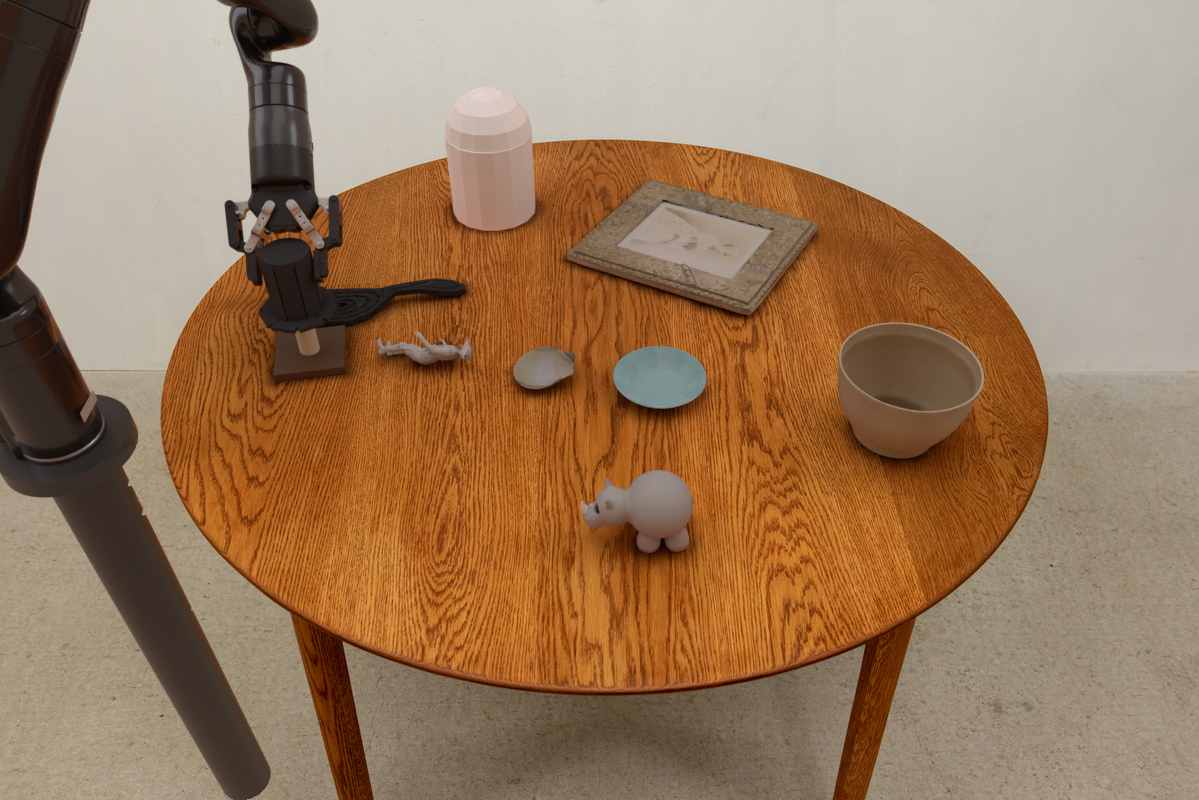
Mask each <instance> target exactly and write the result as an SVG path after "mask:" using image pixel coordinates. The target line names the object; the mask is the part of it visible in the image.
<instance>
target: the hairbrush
mask: <svg viewBox="0 0 1199 800" xmlns="http://www.w3.org/2000/svg"><path fill="white" fill-rule="evenodd" d="M320 286H321V287H323V286H322V285H320ZM348 286H349V287H347V288H340V284H337V288H329V287H330V285H328V284H327V285H325V287H328V288H329V289H330V291H331V292H332V293H333V295H334V296H335V297H336V299H337V300H338V302H339V305H338V306H339V308H338V309H337V311H336V312H335V314H334V315H333V317H332V318H331V320H330V321H329V322H324V323H325V325H323V326H320V327H319V328H324V327H333V326H342V325H345V327H352V326H354V325H357V324H359V323H361V322H364V321H366V320H368V319H370V318H371V317H373V316H374V315H375V314H377V313H378V312H379V311H380V310H381V309H383V308H384V307H385V306H387V305H388V304H389V303H390V302H391V301H392V300H393V299H395V297H403V296H412V295H427V296H438V297H458V296H462V295H464V294H466V293H467V289H466V284H465V283H462V282H459V281H457V280H455V279H447V278H439V277H434V278H433V277H432V278H426V279H419V280H413V281H407V282H400V283H393V284H390V285H387V286H383V287H380V285H378V284H376V285H375V284H374V285H373V287H369V286H371V284H370V283H367V286H368V287H361V284H358V287H357V288H356V284H353V286H354V287H352V288H350V284H348ZM331 287H334V286H333V284H332V285H331ZM342 287H345V285H344V284H343V285H342ZM328 288H326V290H327V289H328Z"/></svg>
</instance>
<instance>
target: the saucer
mask: <svg viewBox="0 0 1199 800" xmlns="http://www.w3.org/2000/svg"><path fill="white" fill-rule="evenodd" d="M612 378H613V383H614V386H615V387H616V389H617V391H619V393H620V394H621V395H622V397H625V398H626V399H627V400H629V401H631V402H632V403H635V404H636V405H639V406H641V407H645V408H649V409H654V410H655V409H656V410H667V409H673V408H678V407H681V406H684V405H687V404H689V403H690V402H692V401H694V400H695V399H697V398H698V397H700V395H701V394H702V392H703V391H704V390H705V387H706V385H707V372H706V370H705V368H704V366H703V364H702V363H701V362H700V361H699V360H698V359H697V358H696V357H695V356H694V355H692V354H691V353H689V352H687V351H685V350H682V349H680V348H676V347H671V346H663V345H654V346H653V345H652V346H645V347H641V348H637V349H634V350H632V351H630V352H628V353H627V354H625V355H624V356H622V357H621V358H620V359H619V360H618V362H617V363H616V364H615V366H614V369H613V374H612Z"/></svg>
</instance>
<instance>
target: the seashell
mask: <svg viewBox="0 0 1199 800" xmlns="http://www.w3.org/2000/svg"><path fill="white" fill-rule="evenodd" d="M576 357H577V353H575V352H566V351H563V350H562V349H561V348H558V347H557V346H552V345H551V346H549V345H543V346H537V347H535V348H532V349H529V350H528V352H525V353H524V354H522V355H521V356H520V357H519V358H518V359H517V360H516V362H515V364H514V366H513V369H512V374H513V379H514V380H515V382H517V384H518V385H520V386H521V387H523V388H525V389H529V390H542V389H546V388H549V387H552V386H554V385H556V384H558V383H560V382H561V381H563V380H564V379H566V378H568V377H570V376H572V375H573V374H575V372H576V369H575V368H576V363H575V362H576Z"/></svg>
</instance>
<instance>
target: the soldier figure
mask: <svg viewBox="0 0 1199 800" xmlns="http://www.w3.org/2000/svg"><path fill="white" fill-rule="evenodd" d="M413 335H414V336H416V337H417V338H418V339H419V341H420V343H421V344H422V346H424V347H423V348H422V347H420V346H418V345H416V344H414V343H407V342H404V341H401V342H398V343H396V344H392V342H391V341H390V340H387V342H386V345H383V341H382V339H380V338H378V339H377V341H376V345H377V347H378V350H377V351H378V355H379V356H381V355H384V354H386V355H387V357H391V356H393V355H394V356H395V355H403V354H404V355H405V356H407V357H409V358H410V359H411V360H412V361H414V362H416V363H418V364H421V365H425V366H428V365H431V364H434V363H436V362H437V361H452V360H455V359H457V358H459V359H461V360H466V359H467V361H468V362H470V361H471V358H472V356H473V348H472V345H471V343H470V341H469V339H468V338H466V340H465V341H464V344H463V345H462V346H461V344H459V345H458V346H457V345H452V344H448V343H446V341H445V340H444V339H442V338H438V341H440V342H441V344H431V343H430V342H428V341H427V339H425V337H424V335H423V334H422V333H421V332H420V331H419V330H414V333H413ZM459 347H461V350H460V348H459Z"/></svg>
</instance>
